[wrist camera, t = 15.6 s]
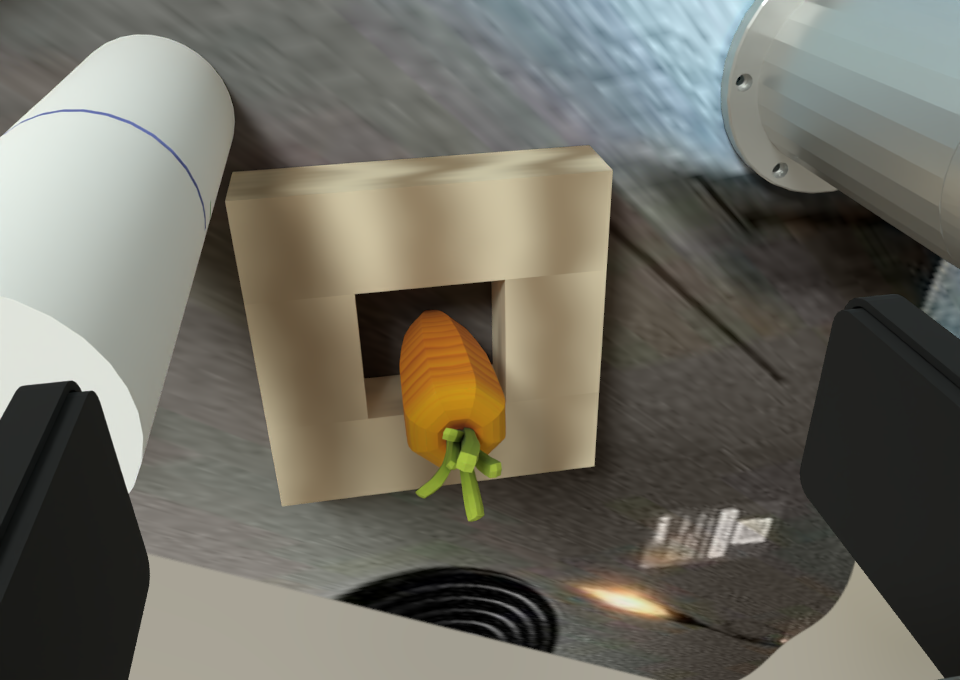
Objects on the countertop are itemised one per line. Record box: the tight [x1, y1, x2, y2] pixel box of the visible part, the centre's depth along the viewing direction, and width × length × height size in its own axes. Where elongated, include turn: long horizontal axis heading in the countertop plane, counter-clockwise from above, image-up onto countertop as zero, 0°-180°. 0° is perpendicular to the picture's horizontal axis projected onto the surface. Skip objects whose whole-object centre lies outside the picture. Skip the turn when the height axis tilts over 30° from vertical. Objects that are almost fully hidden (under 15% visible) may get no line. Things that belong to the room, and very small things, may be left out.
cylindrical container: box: [0, 35, 235, 494], centre depth 28 cm, size 7×7×25 cm
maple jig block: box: [225, 145, 613, 506], centre depth 45 cm, size 18×18×4 cm
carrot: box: [399, 310, 506, 522], centre depth 40 cm, size 5×5×15 cm
